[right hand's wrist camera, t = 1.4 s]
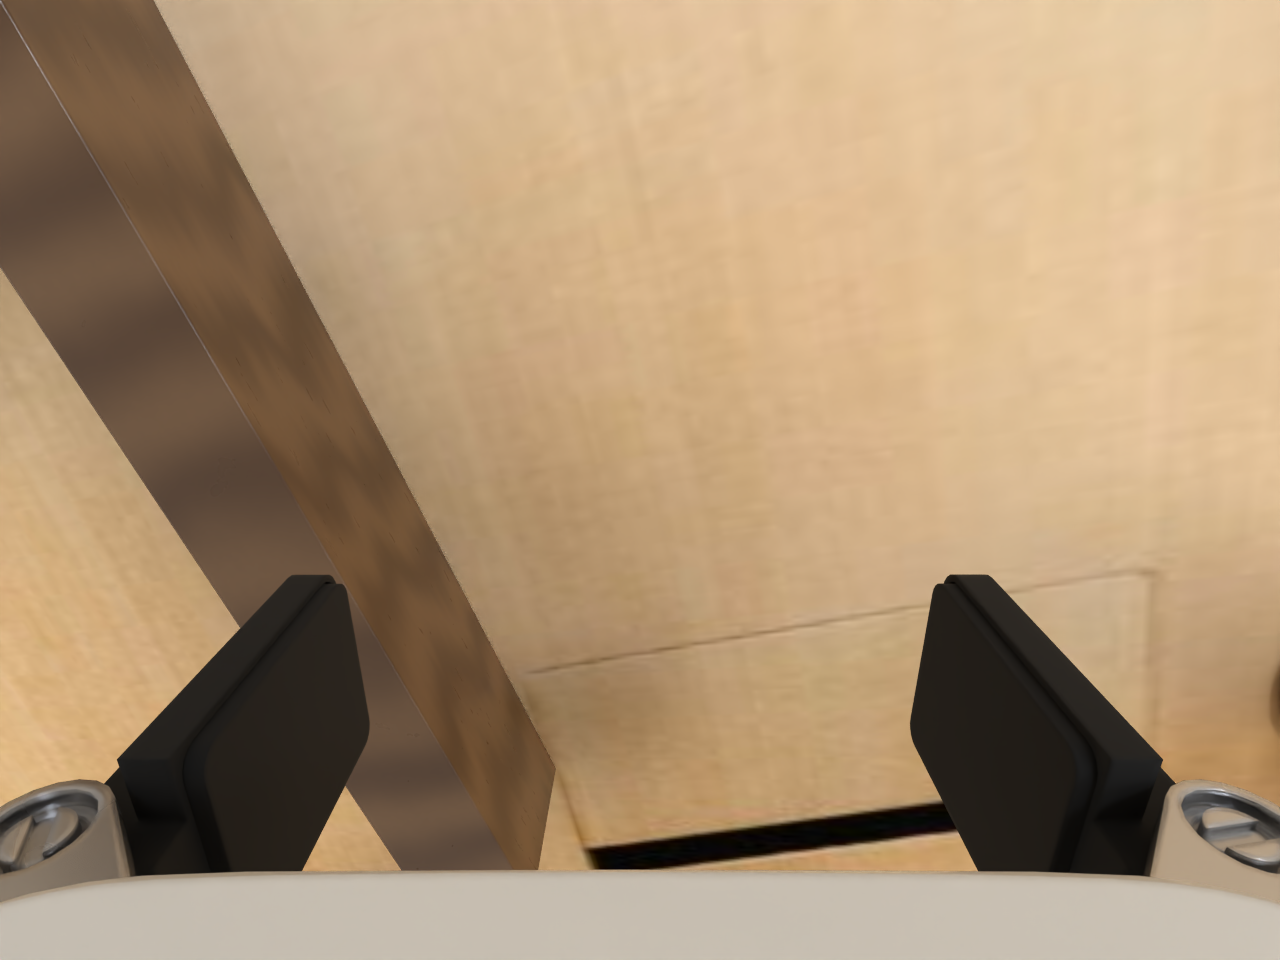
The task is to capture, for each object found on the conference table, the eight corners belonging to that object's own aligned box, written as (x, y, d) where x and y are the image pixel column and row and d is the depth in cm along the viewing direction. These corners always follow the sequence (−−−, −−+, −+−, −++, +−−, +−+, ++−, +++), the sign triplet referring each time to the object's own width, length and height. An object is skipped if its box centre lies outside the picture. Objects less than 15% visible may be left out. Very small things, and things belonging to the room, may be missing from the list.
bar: (556, 768, 40) (532, 903, 32) (479, 790, 40) (438, 927, 33) (-102, -489, 22) (-509, -866, 14) (-220, -414, 23) (-669, -734, 15)
